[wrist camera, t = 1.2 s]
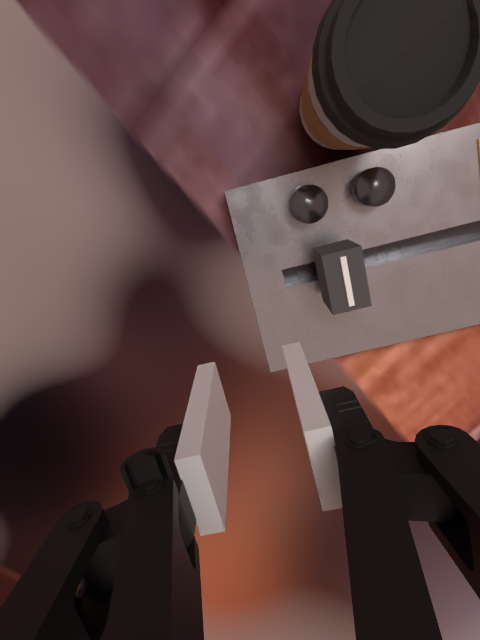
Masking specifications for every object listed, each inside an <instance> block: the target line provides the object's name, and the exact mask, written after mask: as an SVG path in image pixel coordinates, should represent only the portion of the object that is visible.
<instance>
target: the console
mask: <svg viewBox="0 0 480 640" xmlns="http://www.w3.org/2000/svg"><path fill="white" fill-rule="evenodd" d="M224 192H225V196H226V200H227V204H228V208H229V212H230V215H231V219H232V223H233V227H234V231H235V235H236V239H237V243H238V247H239V251H240V255H241V259H242V263H243V266H244V270H245V274H246V278H247V282H248V286H249V290H250V294H251V298H252V302H253V306H254V310H255V314H256V317H257V321H258V325H259V329H260V333H261V337H262V341H263V345H264V349H265V353H266V357H267V360H268V365H269V368H270V372H275V371H279V370H283V369H287V365H286V361H285V357H284V352H283V348H282V346H283V345H288V344H292V343H296V342H300V344H301V347H302V350H303V352H304V355H305V358H306V360H307V363H308V364H309V363H314V362H317V361H322V360H327V359H331V358H335V357H340V356H344V355H348V354H353V353H357V352H361V351H365V350H370V349H374V348H378V347H383V346H387V345H391V344H396V343H400V342H404V341H409V340H413V339H417V338H422V337H426V336H430V335H435V334H439V333H443V332H448V331H452V330H456V329H461V328H465V327H469V326H474V325H478V324H480V123H477V124H473V125H469V126H466V127H462V128H458V129H454V130H451V131H447V132H443V133H440V134H436V135H432V136H428V137H425V138H424V139H422V140H420V141H419V142H417V143H414V144H411V145H407V146H403V147H400V148H396V149H380V150H376V151H372V152H369V153H365V154H361V155H357V156H354V157H350V158H346V159H343V160H339V161H335V162H331V163H328V164H324V165H320V166H316V167H313V168H309V169H305V170H302V171H298V172H294V173H290V174H287V175H283V176H279V177H275V178H272V179H268V180H264V181H260V182H257V183H253V184H249V185H246V186H242V187H238V188H234V189H231V190H227V191H224ZM346 239H348V240H351V241H353V242H355V243H357V244H359V245H361V246H362V251H363V257H364V263H365V268H366V274H367V280H368V286H369V292H370V298H371V304H372V306H370V307H365V308H361V309H357V310H353V311H349V312H344V313H340V314H336V315H333V314H332V313H331V312H330V310H329V309H328V307H327V306H326V305H325V303H324V302H323V299H322V294H321V289H320V284H319V280H318V275H317V270H316V265H315V260H314V255H313V250H312V248H314V247H318V246H322V245H326V244H330V243H334V242H338V241H342V240H346Z"/></svg>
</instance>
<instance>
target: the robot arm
mask: <svg viewBox="0 0 480 640" xmlns="http://www.w3.org/2000/svg"><path fill="white" fill-rule="evenodd" d="M282 348H283V352H284V357H285V361H286V365H287V369H288V373H289V377H290V381H291V385H292V390H293V394H294V398H295V402H296V406H297V410H298V414H299V418H300V422H301V426H302V429H303V434H304V438H305V442H306V446H307V450H308V454H309V458H310V462H311V466H312V470H313V474H314V478H315V482H316V486H317V490H318V494H319V498H320V502H321V506H322V510H323V511H328V510H333V509H337V508H342V509H343V519H344V528H345V537H346V547H347V556H348V566H349V576H350V585H351V594H352V604H353V614H354V623H355V632H356V640H442V636H441V633H440V629H439V626H438V623H437V619H436V616H435V612H434V609H433V605H432V602H431V598H430V595H429V592H428V588H427V585H426V581H425V578H424V574H423V571H422V567H421V564H420V560H419V557H418V554H417V550H416V546H415V543H414V540H413V536H412V533H411V529H410V526H409V522H408V520H411V521H425V522H426V521H427V522H428V523H429V526H430V528H431V529H432V531H433V532H434V533H435V535H436V536H437V538H438V539H439V541H440V542H441V544H442V545H443V546H444V548H445V549H446V550H447V552H448V554H449V555H450V557H451V558H452V559H453V561H454V562H455V564H456V565H457V566H458V568H459V569H460V571H461V572H462V574H463V575H464V577H465V578H466V580H467V581H468V583H469V584H470V586H471V587H472V588H473V590H474V591H475V593H476V594H477V596H478V597H479V599H480V444H479V443H478V442H477V441H475V440H474V439H473V438H472V437H471V436H470V435H469V434H468V433H466V432H464V431H463V430H461V429H460V428H456V427H453V426H447V425H436V426H429V427H427V428H425V429H422V430H421V431H420V432H419V433H418V434H417V435H416V438H415V442H395V441H391V440H387V439H385V438H384V437H383V435H382V434H381V432H379V431H377V430H375V429H373V427H372V425H371V423H370V422H369V420H368V418H367V416H366V414H365V412H364V411H363V409H362V408H361V405H360V403H359V402H358V400H357V398H356V396H355V394H354V392H353V391H351V390H349V389H347V388H346V387H344V386H343V387H339V388H334V389H330V390H325V391H321V392H318V389H317V387H316V384H315V381H314V379H313V377H312V374H311V371H310V368H309V366H308V363H307V360H306V358H305V355H304V352H303V350H302V347H301V344H300V342H296V343H292V344H288V345H283V346H282ZM230 425H231V415H230V412H229V408H228V405H227V402H226V398H225V395H224V391H223V388H222V385H221V382H220V378H219V374H218V371H217V368H216V364H215V362H212V363H207V364H203V365H198V366H197V370H196V375H195V378H194V383H193V387H192V390H191V395H190V398H189V402H188V406H187V410H186V414H185V418H184V423H183V424H179V425H175V426H170V427H167V428H166V429H165V430H164V431H163V433H162V434H161V435H160V436H159V439H158V442H157V445H156V448H148V449H143V450H141V451H139V452H136V453H134V454H133V455H131V456H130V457H128V458H127V459H126V460H125V461H124V462H123V464H122V466H121V468H120V471H121V473H122V475H123V478H124V481H125V483H126V486H127V488H128V491H129V497H128V499H127V500H126V501H124V502H122V503H120V504H118V505H116V506H113V507H111V508H109V509H106V510H103V507H102V505H101V503H99V502H97V501H86V502H83V503H80V504H77V505H76V506H73V507H72V508H70V509H69V510H68V511H67V512H65V513H64V514H63V515H62V516H61V517H60V519H59V520H58V521H57V522H56V524H55V526H54V527H53V529H52V530H51V532H50V533H49V535H48V537H47V538H46V540H45V541H44V542H43V544H42V545H41V547H40V549H39V550H38V552H37V553H36V555H35V556H34V558H33V559H32V561H31V562H30V564H29V565H28V567H27V568H26V570H25V572H24V573H23V575H22V576H21V578H20V579H19V581H18V582H17V584H16V585H15V587H14V588H13V590H12V591H11V593H10V595H9V596H8V598H7V599H6V601H5V602H4V604H3V605H2V607H1V608H0V640H204V632H203V615H202V598H201V580H200V564H199V549H198V545H197V542H196V539H195V536H194V531H195V524H197V527H198V529H199V533H200V535H201V536H204V535H209V534H214V533H219V532H224V531H225V528H226V507H227V486H228V485H227V484H228V465H229V445H230ZM79 584H80V586H81V587H80V589H79V591H78V593H77V594H76V591H77V588H78V585H79ZM75 594H76V596H75Z"/></svg>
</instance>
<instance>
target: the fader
mask: <svg viewBox="0 0 480 640" xmlns="http://www.w3.org/2000/svg"><path fill="white" fill-rule="evenodd" d="M312 250H313V255H314V260H315V265H316V270H317V275H318V280H319V284H320V289H321V294H322V299H323V302H324V303H325V305H326V306H327V307H328V309H329V310H330V312H331V313H332V314H333V315H336V314H340V313H344V312H349V311H353V310H357V309H361V308H365V307H370V306H372V304H371V298H370V292H369V286H368V280H367V274H366V268H365V263H364V257H363V251H362V246H361V245H359V244H357V243H355V242H353V241H351V240H348V239H346V240H342V241H338V242H334V243H330V244H326V245H322V246H318V247H314V248H312Z"/></svg>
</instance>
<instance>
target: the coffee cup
mask: <svg viewBox="0 0 480 640" xmlns="http://www.w3.org/2000/svg"><path fill="white" fill-rule="evenodd" d="M479 81H480V0H332V2H331V4H330V6H329V8H328V9H327V11H326V13H325V15H324V17H323V18H322V20H321V22H320V24H319V28H318V31H317V35H316V38H315V42H314V45H313V54H312V58H311V61H310V64H309V68H308V71H307V74H306V78H305V81H304V85H303V88H302V95H301V98H300V116H301V121H302V124H303V126H304V128H305V130H306V132H307V134H308V135H309V136H310V137H311V138H312V140H313V141H315V142H316V143H318V144H319V145H321V146H322V147H325V148H329V149H332V150H356V149H369V148H375V149H396V148H400V147H403V146H407V145H411V144H414V143H417V142H419V141H420V140H422V139H424V138H425V137H427V136H429V135H431V134H432V133H434V132H436V131H437V130H439V129H441V128H443V127H444V126H445V125H446V124H447V123H448V122H449V121H450V120H452V119H453V118H454V117H455V116H456V115H457V114H458V113H459V112H460V111H461V110H462V108H463V107H464V105H465V104H466V102H467V101H468V99H469V98H470V96H471V95H472V94H473V92H474V91H475V88H476V86H477V84H478V83H479Z"/></svg>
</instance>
